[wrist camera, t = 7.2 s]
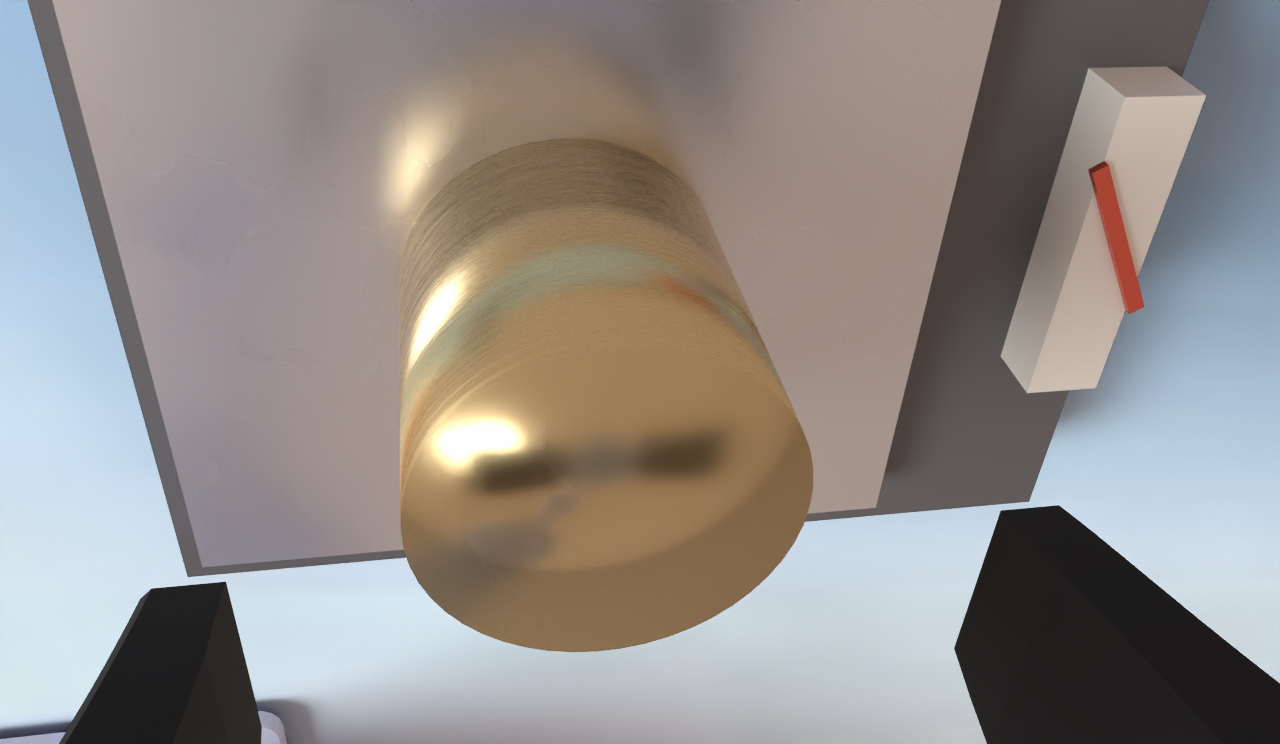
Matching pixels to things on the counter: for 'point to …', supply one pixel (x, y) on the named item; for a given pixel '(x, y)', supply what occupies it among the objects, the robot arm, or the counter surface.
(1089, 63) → the scale
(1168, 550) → the counter surface
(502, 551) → the cylinder
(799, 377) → the platform
